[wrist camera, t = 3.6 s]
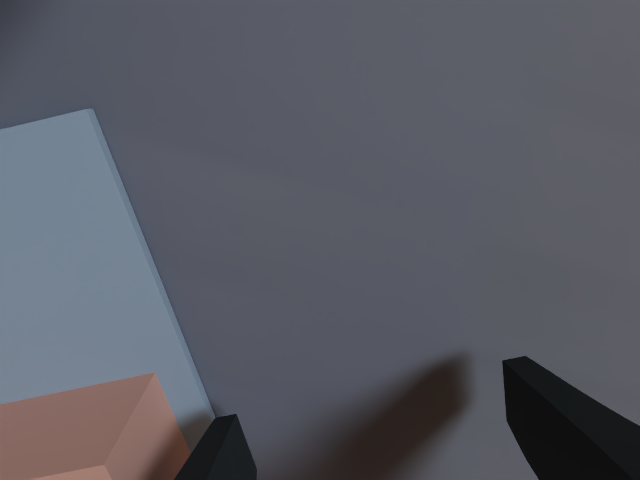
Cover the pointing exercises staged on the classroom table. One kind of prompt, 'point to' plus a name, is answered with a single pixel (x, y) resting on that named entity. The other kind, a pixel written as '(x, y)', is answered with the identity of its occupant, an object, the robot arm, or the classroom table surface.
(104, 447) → the t block
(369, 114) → the classroom table surface
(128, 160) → the classroom table surface
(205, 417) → the t board
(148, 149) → the classroom table surface
